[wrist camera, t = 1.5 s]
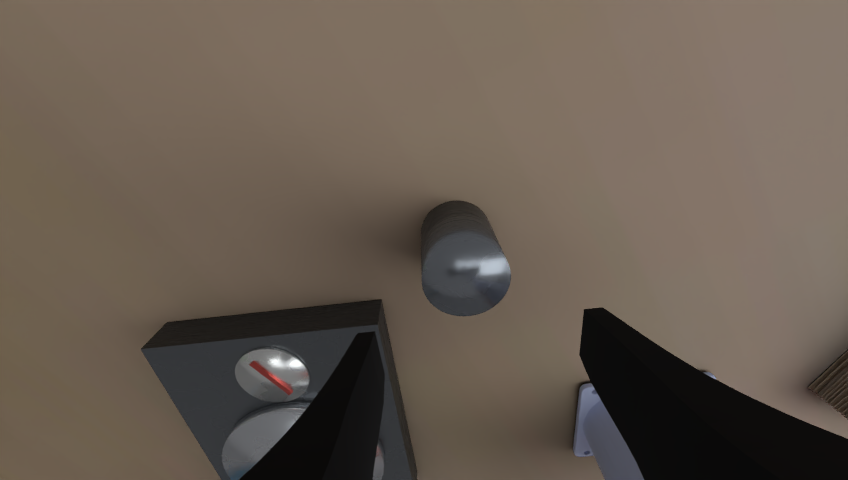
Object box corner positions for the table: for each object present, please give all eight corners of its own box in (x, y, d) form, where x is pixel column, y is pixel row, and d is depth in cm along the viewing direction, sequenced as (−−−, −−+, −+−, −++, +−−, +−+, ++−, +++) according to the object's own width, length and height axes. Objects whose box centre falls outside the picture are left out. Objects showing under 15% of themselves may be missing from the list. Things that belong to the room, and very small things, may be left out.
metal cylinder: (488, 196, 19) (510, 235, 15) (491, 259, 21) (511, 311, 17) (416, 204, 20) (416, 246, 15) (425, 266, 21) (427, 320, 17)
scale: (381, 299, 22) (376, 334, 19) (416, 471, 30) (417, 514, 27) (166, 322, 23) (130, 359, 20) (257, 485, 31) (240, 529, 28)
